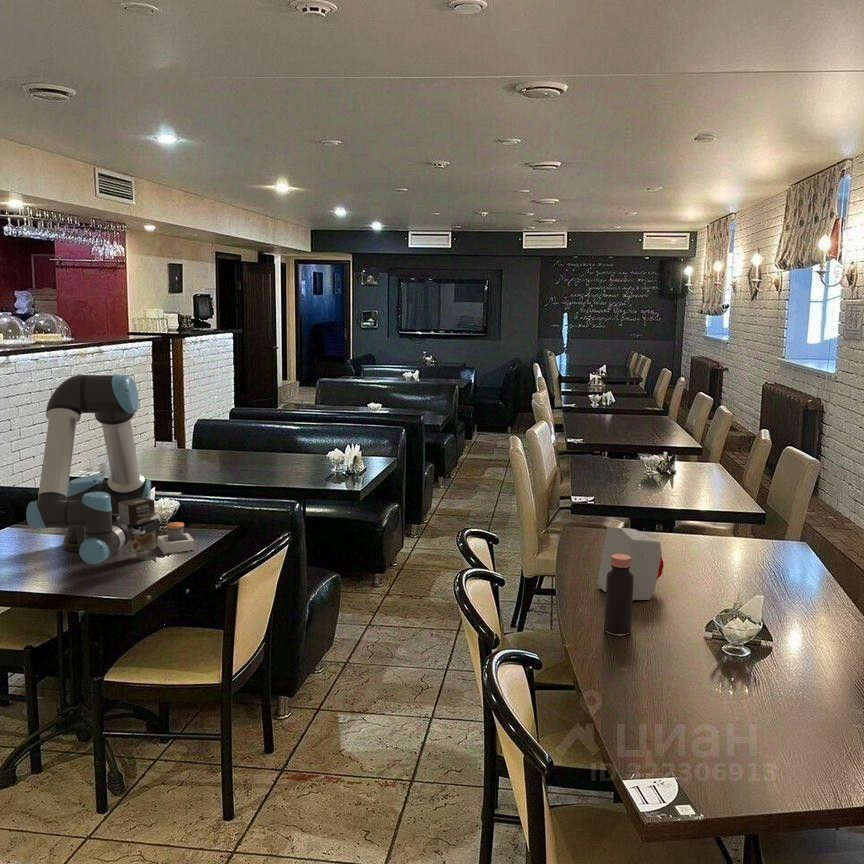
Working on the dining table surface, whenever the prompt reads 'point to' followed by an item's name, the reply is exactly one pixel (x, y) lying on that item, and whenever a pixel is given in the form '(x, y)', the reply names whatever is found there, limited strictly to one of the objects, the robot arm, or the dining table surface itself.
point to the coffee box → (137, 513)
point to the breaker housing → (175, 544)
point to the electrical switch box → (633, 559)
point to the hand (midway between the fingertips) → (142, 517)
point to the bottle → (619, 595)
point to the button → (175, 531)
